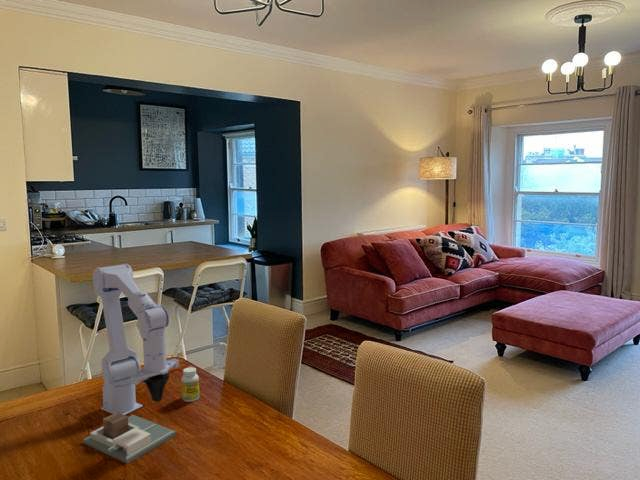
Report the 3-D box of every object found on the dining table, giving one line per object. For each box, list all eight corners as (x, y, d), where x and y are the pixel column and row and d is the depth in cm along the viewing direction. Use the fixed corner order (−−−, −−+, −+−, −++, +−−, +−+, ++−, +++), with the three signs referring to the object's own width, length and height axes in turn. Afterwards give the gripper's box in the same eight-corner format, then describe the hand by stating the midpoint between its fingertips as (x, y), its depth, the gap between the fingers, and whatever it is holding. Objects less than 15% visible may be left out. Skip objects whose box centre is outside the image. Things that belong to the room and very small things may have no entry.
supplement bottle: (196, 393, 164) (195, 365, 163) (202, 399, 160) (201, 370, 158) (179, 397, 161) (178, 368, 160) (185, 403, 157) (184, 374, 155)
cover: (113, 449, 129) (112, 439, 129) (136, 437, 135) (135, 427, 135) (128, 456, 126) (128, 446, 126) (151, 443, 132) (150, 433, 132)
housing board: (83, 442, 134) (82, 434, 134) (133, 417, 148) (132, 409, 148) (127, 463, 125) (126, 454, 125) (176, 434, 139) (176, 426, 138)
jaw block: (104, 439, 136) (102, 418, 135) (118, 432, 140) (117, 412, 139) (114, 444, 134) (113, 423, 133) (129, 437, 137) (127, 416, 137)
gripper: (142, 364, 126) (145, 415, 128) (185, 346, 139) (187, 393, 141) (124, 358, 130) (126, 408, 132) (167, 342, 142) (169, 387, 144)
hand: (156, 400), depth 136 cm, fingers closed
